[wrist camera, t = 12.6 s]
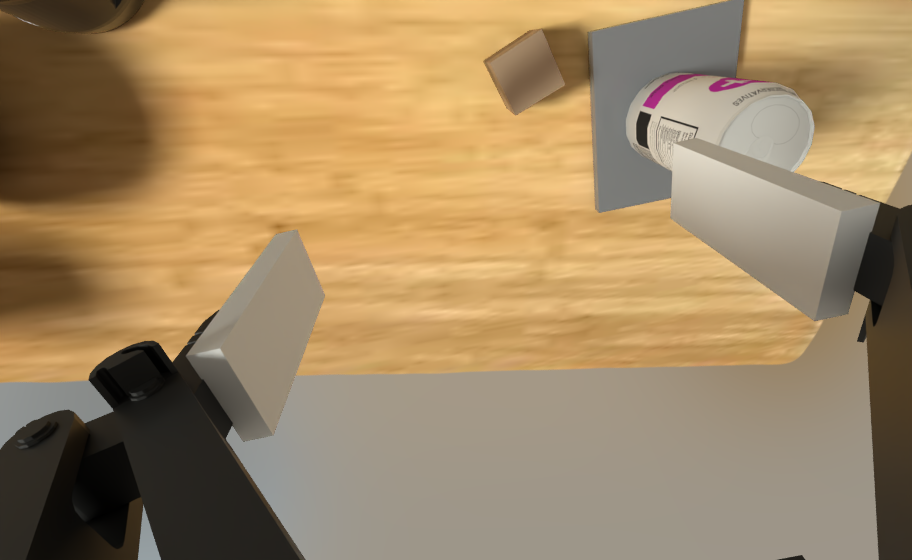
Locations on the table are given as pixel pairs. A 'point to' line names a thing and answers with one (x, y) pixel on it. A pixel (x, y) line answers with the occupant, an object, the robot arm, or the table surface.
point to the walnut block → (524, 71)
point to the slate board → (630, 69)
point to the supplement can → (720, 118)
